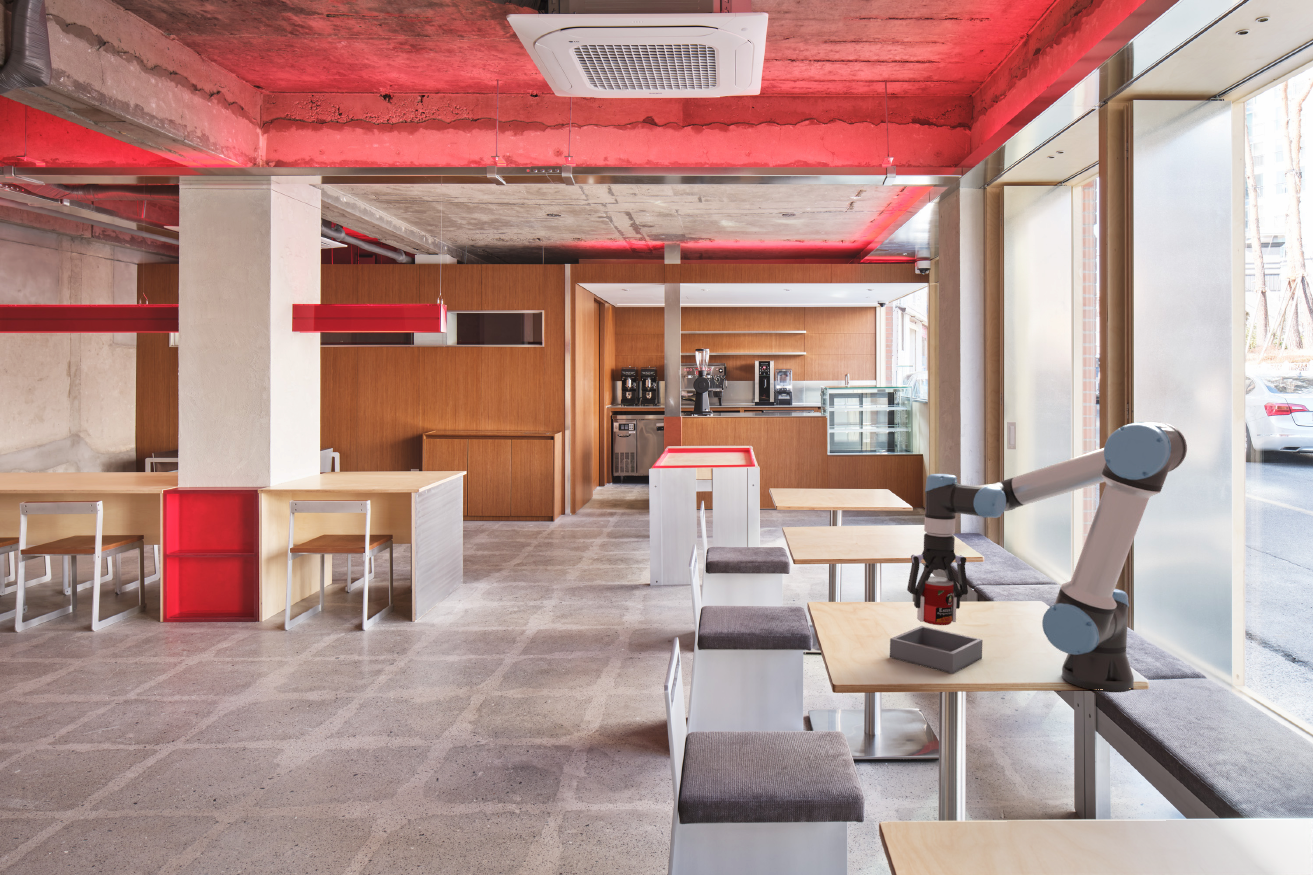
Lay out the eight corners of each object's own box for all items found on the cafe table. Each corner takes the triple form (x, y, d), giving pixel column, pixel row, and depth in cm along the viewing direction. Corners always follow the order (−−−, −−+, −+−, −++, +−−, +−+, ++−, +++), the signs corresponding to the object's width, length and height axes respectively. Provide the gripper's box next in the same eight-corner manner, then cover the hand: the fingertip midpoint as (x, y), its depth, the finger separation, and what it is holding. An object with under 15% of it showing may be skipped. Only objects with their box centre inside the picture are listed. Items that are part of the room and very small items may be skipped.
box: (981, 658, 210) (982, 639, 210) (952, 673, 198) (953, 653, 198) (921, 643, 222) (921, 625, 222) (889, 657, 210) (890, 638, 210)
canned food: (939, 627, 204) (941, 584, 204) (914, 619, 211) (915, 578, 210) (958, 622, 208) (960, 581, 208) (933, 615, 215) (934, 574, 215)
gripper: (973, 531, 212) (970, 616, 213) (895, 530, 212) (892, 615, 214) (984, 536, 205) (981, 625, 206) (904, 535, 205) (901, 623, 206)
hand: (936, 620), depth 210 cm, fingers closed on canned food, 8 cm apart
